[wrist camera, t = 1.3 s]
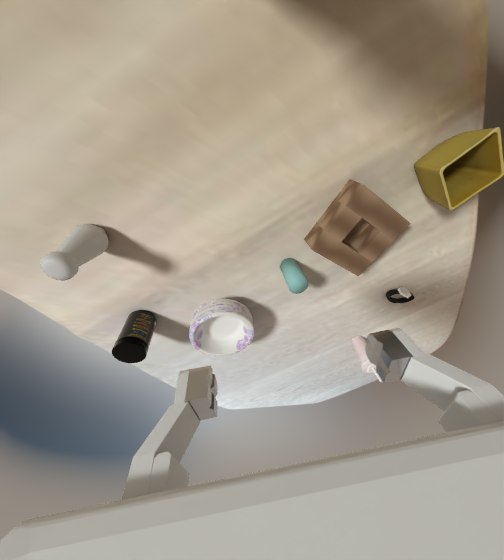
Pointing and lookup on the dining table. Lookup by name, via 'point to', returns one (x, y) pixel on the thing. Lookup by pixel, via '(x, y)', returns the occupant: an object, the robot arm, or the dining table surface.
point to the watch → (403, 292)
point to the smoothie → (363, 355)
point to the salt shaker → (75, 251)
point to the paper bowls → (221, 327)
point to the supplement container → (135, 337)
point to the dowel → (293, 276)
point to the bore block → (355, 228)
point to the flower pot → (461, 167)
